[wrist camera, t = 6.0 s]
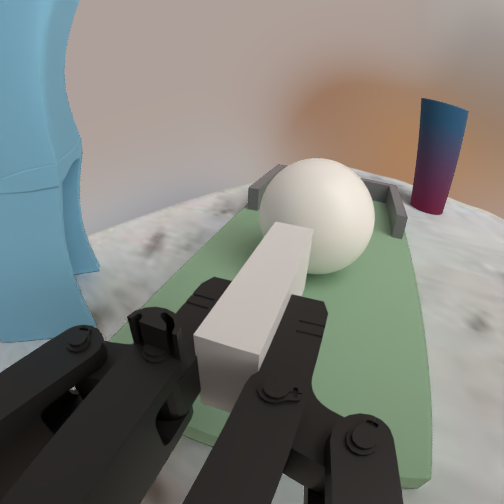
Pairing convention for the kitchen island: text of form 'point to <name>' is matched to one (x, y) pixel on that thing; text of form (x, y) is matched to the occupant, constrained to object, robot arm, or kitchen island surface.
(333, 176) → the ball
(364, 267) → the mat
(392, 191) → the grey u-shaped wall
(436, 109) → the cup
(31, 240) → the vase
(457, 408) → the kitchen island surface
